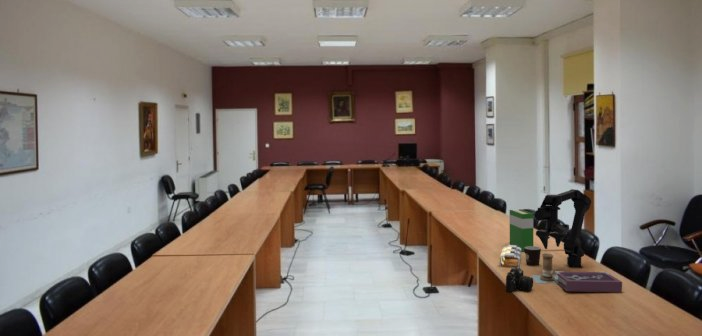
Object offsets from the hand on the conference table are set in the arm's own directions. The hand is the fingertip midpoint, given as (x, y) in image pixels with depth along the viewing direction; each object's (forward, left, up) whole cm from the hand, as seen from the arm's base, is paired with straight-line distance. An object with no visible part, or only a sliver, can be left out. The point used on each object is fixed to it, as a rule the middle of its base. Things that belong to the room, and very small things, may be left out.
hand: (552, 247), depth 270 cm
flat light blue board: (+5, +17, -13) cm, 22 cm away
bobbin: (+5, +17, -12) cm, 22 cm away
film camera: (+21, +32, -13) cm, 40 cm away
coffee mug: (+8, -13, -13) cm, 20 cm away
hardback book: (+9, -51, -13) cm, 53 cm away
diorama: (+19, -17, -14) cm, 29 cm away
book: (-11, +26, -13) cm, 31 cm away
